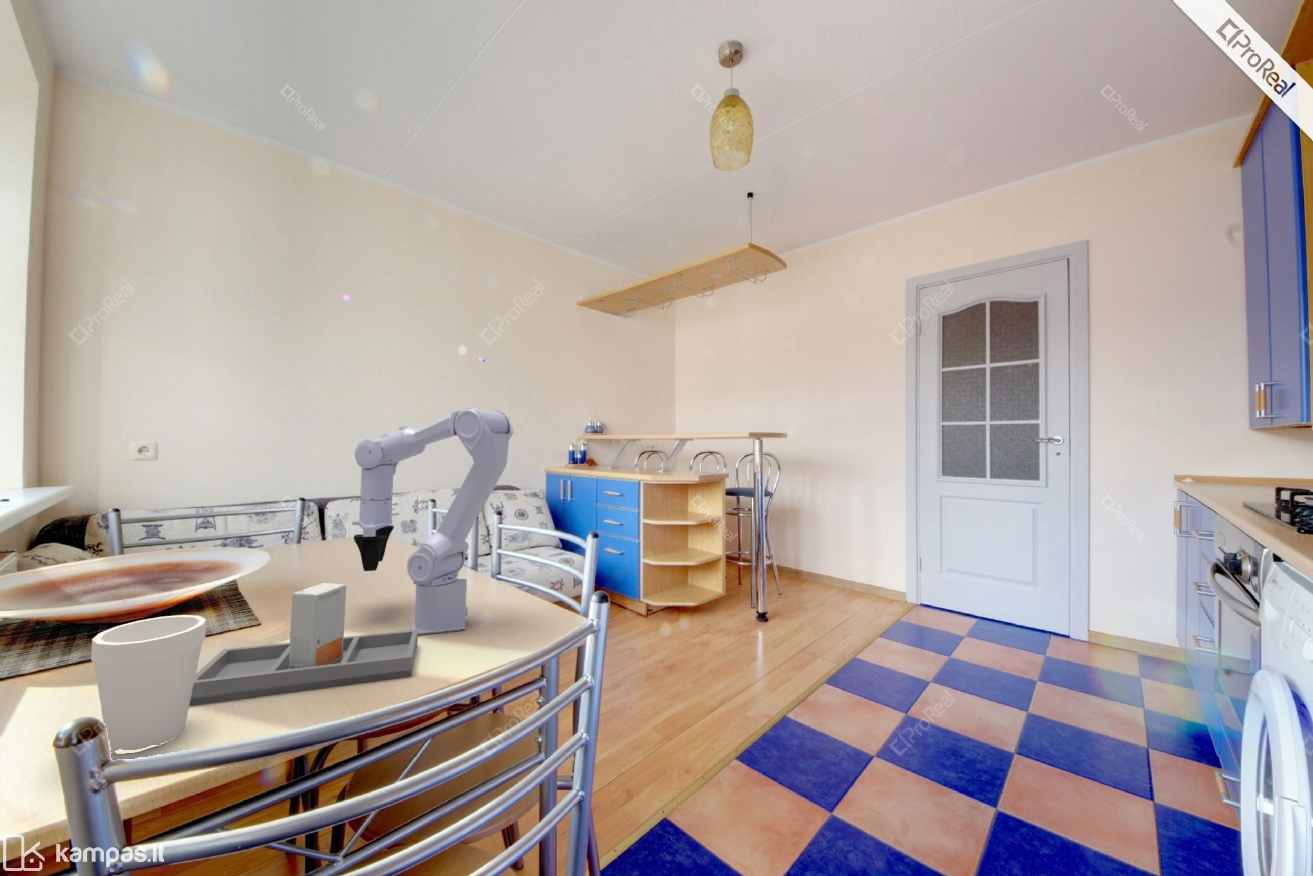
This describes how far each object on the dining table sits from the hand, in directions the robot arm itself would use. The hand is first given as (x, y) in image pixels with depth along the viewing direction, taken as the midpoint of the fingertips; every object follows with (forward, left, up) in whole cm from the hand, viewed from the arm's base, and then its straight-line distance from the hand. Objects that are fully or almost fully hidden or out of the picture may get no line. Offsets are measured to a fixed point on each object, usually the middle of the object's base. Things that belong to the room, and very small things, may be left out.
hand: (373, 565), depth 100 cm
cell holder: (+4, +24, -10) cm, 27 cm away
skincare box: (+4, +24, -10) cm, 26 cm away
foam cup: (+18, +37, -11) cm, 43 cm away
